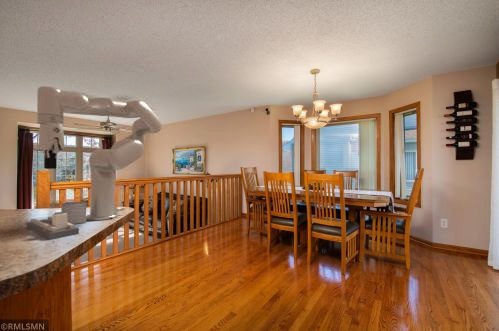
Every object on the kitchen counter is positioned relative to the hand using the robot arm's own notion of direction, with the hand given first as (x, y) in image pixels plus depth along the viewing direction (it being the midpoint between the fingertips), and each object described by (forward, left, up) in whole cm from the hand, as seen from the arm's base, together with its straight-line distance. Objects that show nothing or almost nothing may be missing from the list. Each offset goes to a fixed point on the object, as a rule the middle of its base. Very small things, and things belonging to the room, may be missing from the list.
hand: (50, 168), depth 87 cm
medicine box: (-8, -1, -23) cm, 24 cm away
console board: (+1, +5, -23) cm, 23 cm away
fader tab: (+1, +12, -21) cm, 24 cm away
